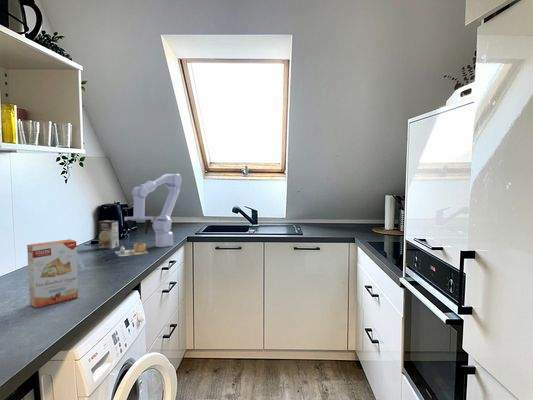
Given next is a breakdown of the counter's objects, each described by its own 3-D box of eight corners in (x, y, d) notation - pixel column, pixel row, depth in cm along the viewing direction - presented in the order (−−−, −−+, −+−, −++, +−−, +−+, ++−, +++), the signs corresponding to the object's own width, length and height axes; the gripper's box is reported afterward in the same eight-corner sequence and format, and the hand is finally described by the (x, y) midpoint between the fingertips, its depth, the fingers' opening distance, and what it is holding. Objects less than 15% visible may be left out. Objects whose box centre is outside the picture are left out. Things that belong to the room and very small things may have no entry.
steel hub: (124, 252, 200) (123, 245, 200) (124, 253, 198) (124, 246, 198) (120, 253, 199) (120, 246, 199) (121, 253, 197) (120, 246, 197)
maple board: (142, 250, 210) (142, 248, 210) (148, 254, 199) (148, 252, 199) (114, 253, 203) (114, 251, 203) (119, 258, 192) (118, 256, 192)
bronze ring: (144, 249, 207) (143, 242, 207) (146, 251, 202) (146, 244, 202) (133, 250, 204) (133, 243, 204) (135, 252, 199) (135, 245, 199)
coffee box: (98, 249, 213) (97, 221, 212) (106, 247, 219) (105, 219, 218) (112, 250, 210) (111, 222, 209) (119, 247, 217) (118, 220, 215)
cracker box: (35, 309, 123) (31, 246, 121) (29, 304, 127) (25, 244, 125) (79, 298, 134) (76, 240, 132) (72, 294, 138) (70, 238, 136)
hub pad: (128, 251, 204) (128, 250, 204) (131, 253, 197) (131, 253, 197) (114, 252, 200) (114, 252, 200) (116, 255, 194) (116, 255, 194)
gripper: (126, 209, 195) (125, 235, 195) (154, 209, 202) (153, 234, 202) (124, 208, 201) (123, 233, 202) (151, 208, 208) (151, 232, 208)
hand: (138, 233), depth 202 cm, fingers open, 7 cm apart
